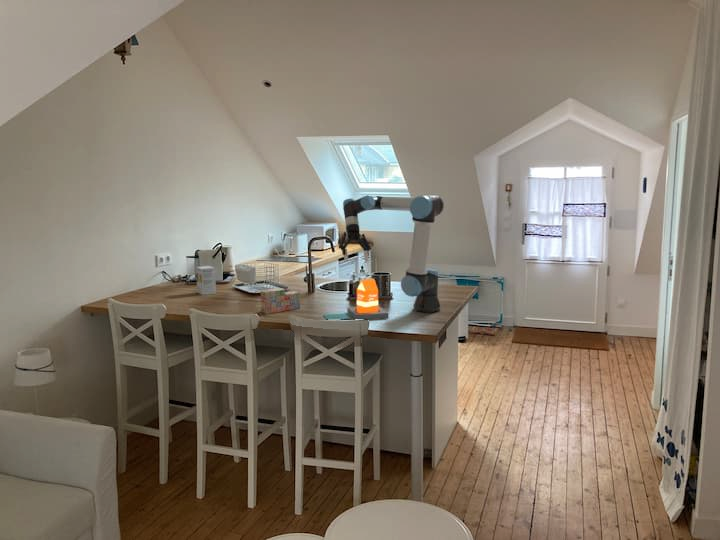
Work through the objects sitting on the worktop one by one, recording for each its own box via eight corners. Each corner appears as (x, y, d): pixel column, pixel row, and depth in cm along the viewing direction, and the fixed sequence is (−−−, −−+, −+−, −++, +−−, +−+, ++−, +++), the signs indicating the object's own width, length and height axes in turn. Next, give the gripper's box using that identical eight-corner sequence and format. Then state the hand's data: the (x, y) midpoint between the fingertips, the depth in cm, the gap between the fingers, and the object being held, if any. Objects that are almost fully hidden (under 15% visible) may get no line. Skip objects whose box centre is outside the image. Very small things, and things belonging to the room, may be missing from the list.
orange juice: (356, 315, 322) (356, 279, 318) (369, 313, 327) (369, 277, 324) (365, 318, 316) (365, 281, 312) (378, 315, 321) (378, 279, 318)
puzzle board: (378, 310, 332) (378, 305, 332) (388, 318, 315) (388, 313, 314) (347, 312, 328) (347, 307, 327) (355, 320, 311) (355, 315, 310)
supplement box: (196, 292, 382) (195, 266, 379) (210, 291, 388) (209, 265, 385) (202, 295, 374) (201, 268, 372) (216, 293, 380) (215, 267, 377)
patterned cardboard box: (294, 306, 343) (293, 285, 341) (299, 308, 338) (299, 287, 336) (260, 311, 331) (260, 290, 329) (266, 314, 326) (265, 292, 324)
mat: (345, 314, 324) (345, 313, 324) (350, 319, 313) (350, 318, 313) (323, 315, 321) (323, 314, 321) (327, 321, 310) (327, 320, 310)
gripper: (366, 229, 347) (371, 264, 341) (329, 226, 333) (334, 262, 327) (374, 225, 341) (378, 260, 335) (336, 221, 327) (341, 257, 321)
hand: (356, 261), depth 331 cm, fingers open, 13 cm apart
